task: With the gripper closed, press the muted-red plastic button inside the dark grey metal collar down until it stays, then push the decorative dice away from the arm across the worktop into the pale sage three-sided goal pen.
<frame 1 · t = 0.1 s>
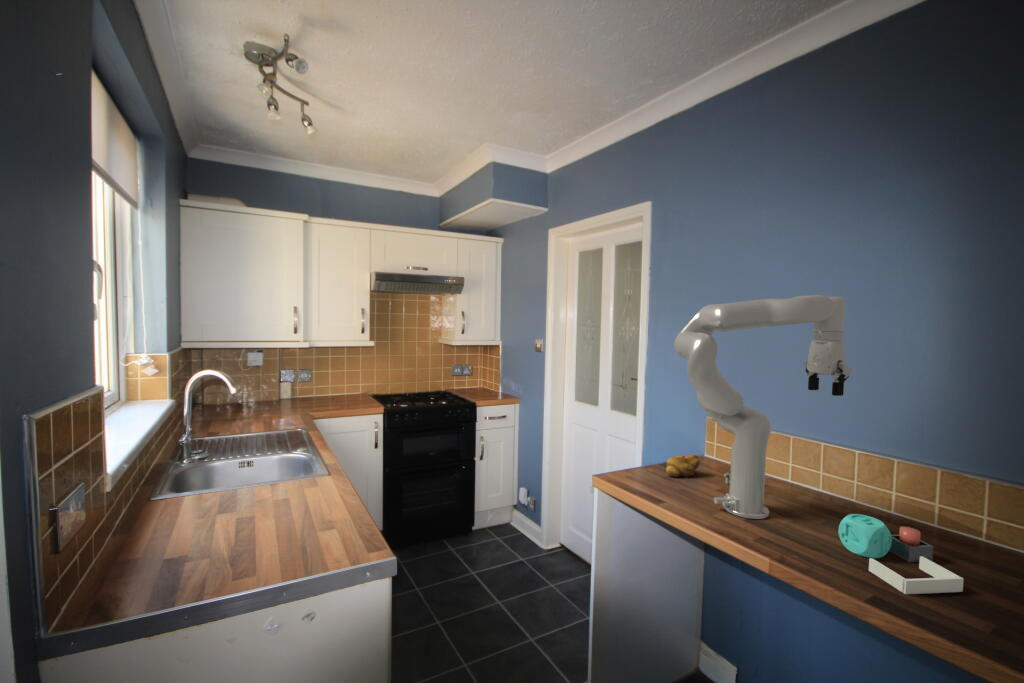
hand: (824, 392, 143), 37 cm above the counter, tool pointing down, fingers open, 9 cm apart
decorative dice: (863, 551, 120), on the counter
button: (909, 536, 117), point 5 cm above the counter, slide at 0.0 cm
bread roll: (679, 474, 175), on the counter
goal pen: (913, 580, 106), on the counter
egg carton: (741, 484, 166), on the counter
button collar: (908, 555, 117), on the counter
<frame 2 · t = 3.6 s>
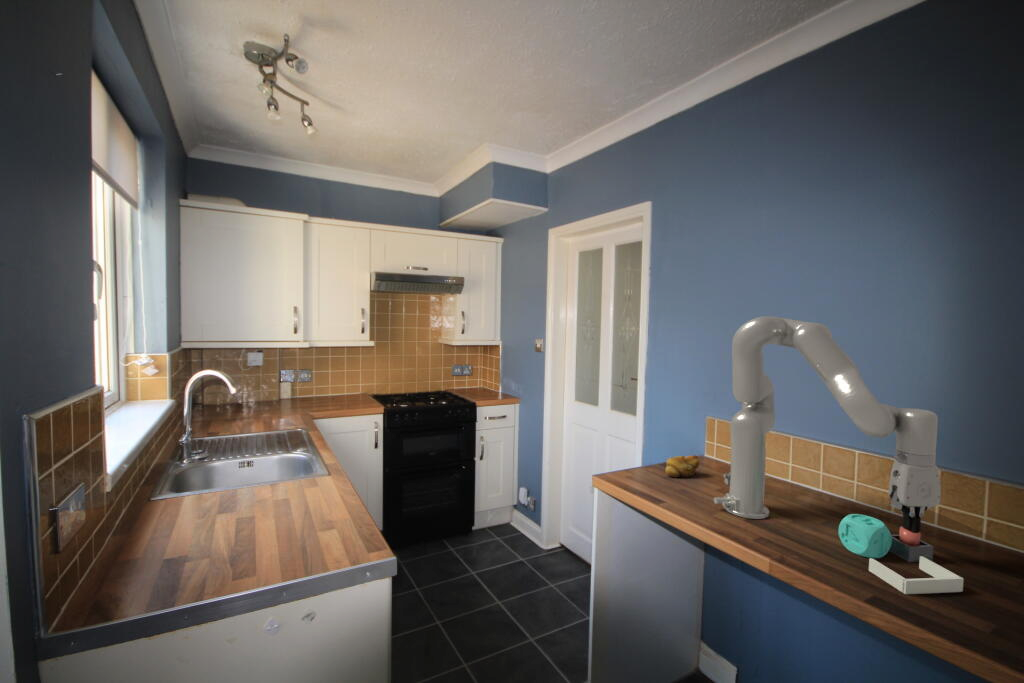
hand: (911, 530, 117), 7 cm above the counter, tool pointing down, fingers closed
button: (909, 536, 117), point 5 cm above the counter, slide at 0.0 cm, touching gripper
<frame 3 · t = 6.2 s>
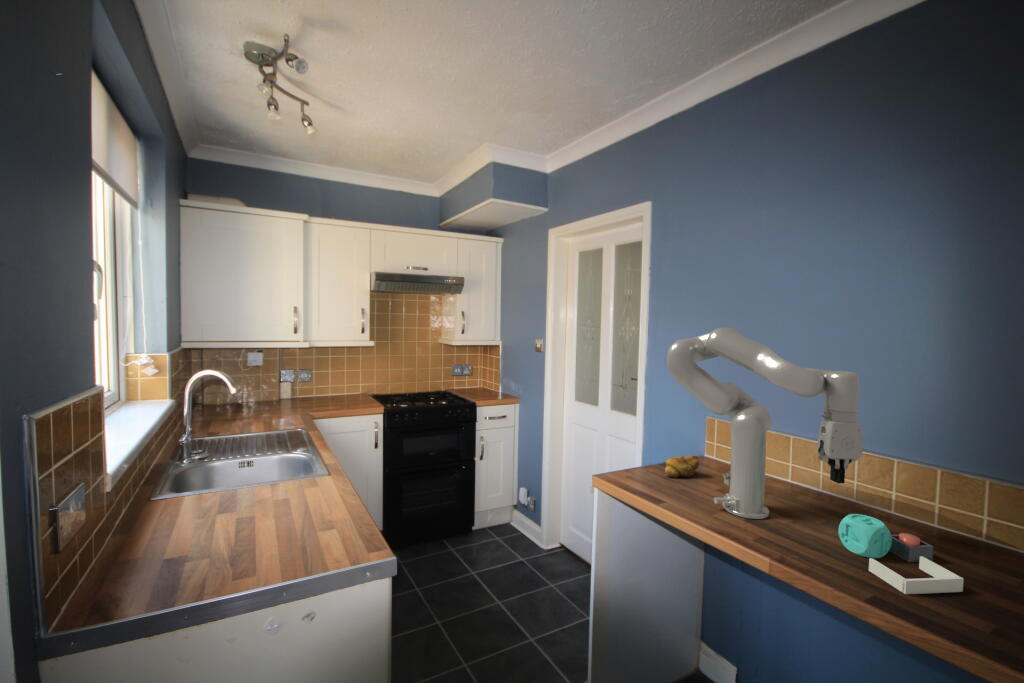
hand: (837, 481, 129), 14 cm above the counter, tool pointing down, fingers closed
button: (909, 543, 117), point 3 cm above the counter, slide at 1.7 cm
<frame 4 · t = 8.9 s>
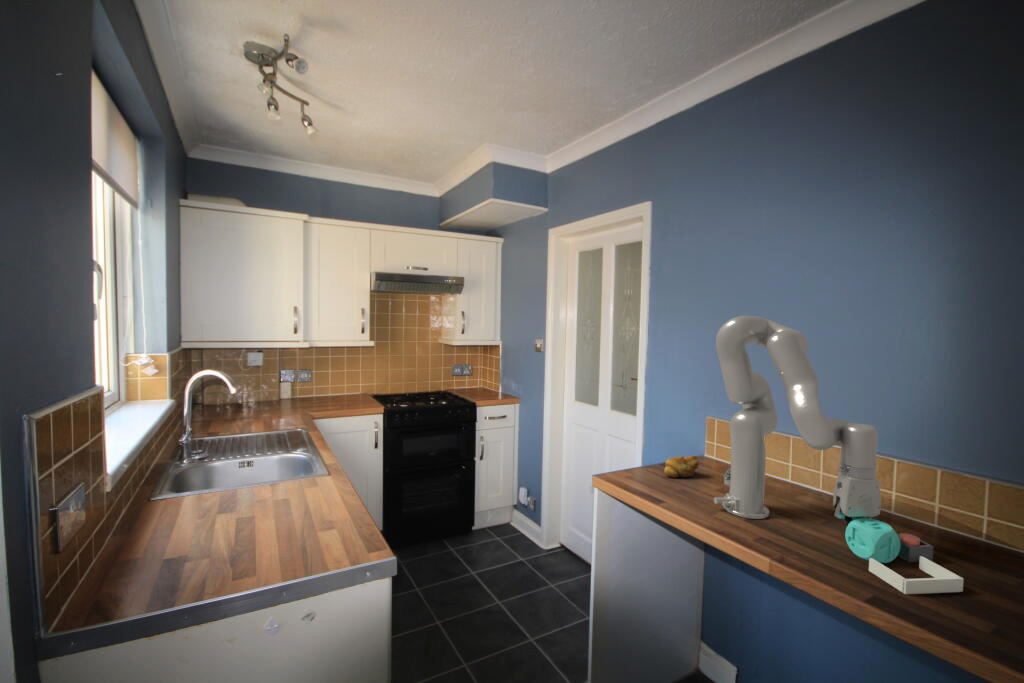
hand: (853, 538, 123), 1 cm above the counter, tool pointing down, fingers closed
decorative dice: (871, 555, 117), on the counter, touching gripper
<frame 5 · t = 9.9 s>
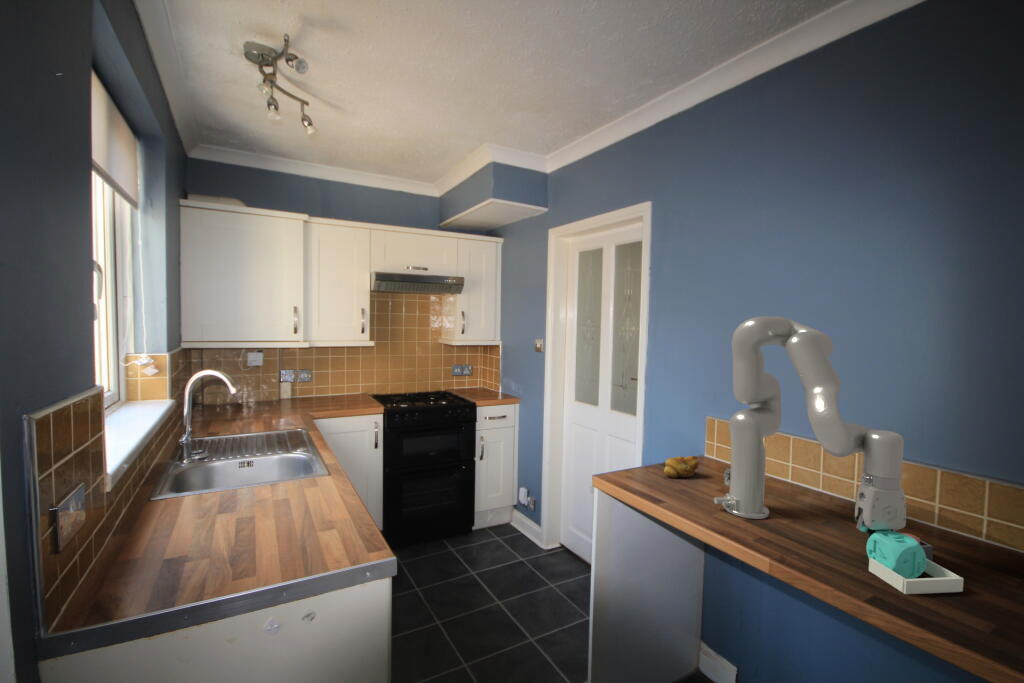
hand: (876, 552, 116), 1 cm above the counter, tool pointing down, fingers closed
decorative dice: (894, 571, 110), on the counter, touching gripper
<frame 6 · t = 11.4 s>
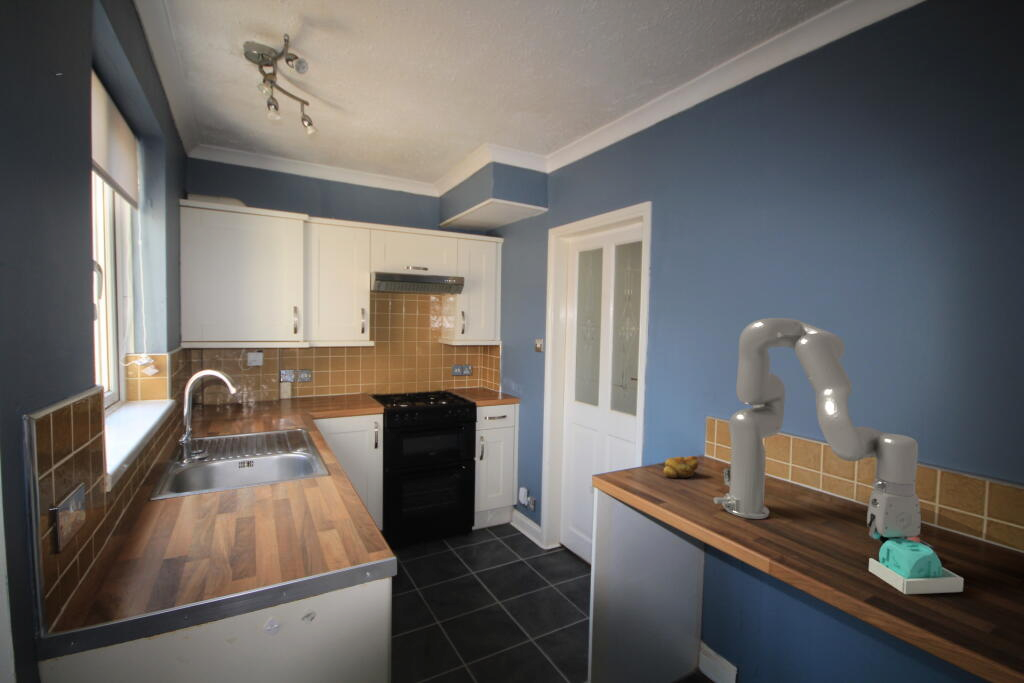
hand: (889, 560, 112), 1 cm above the counter, tool pointing down, fingers closed
decorative dice: (908, 580, 107), on the counter
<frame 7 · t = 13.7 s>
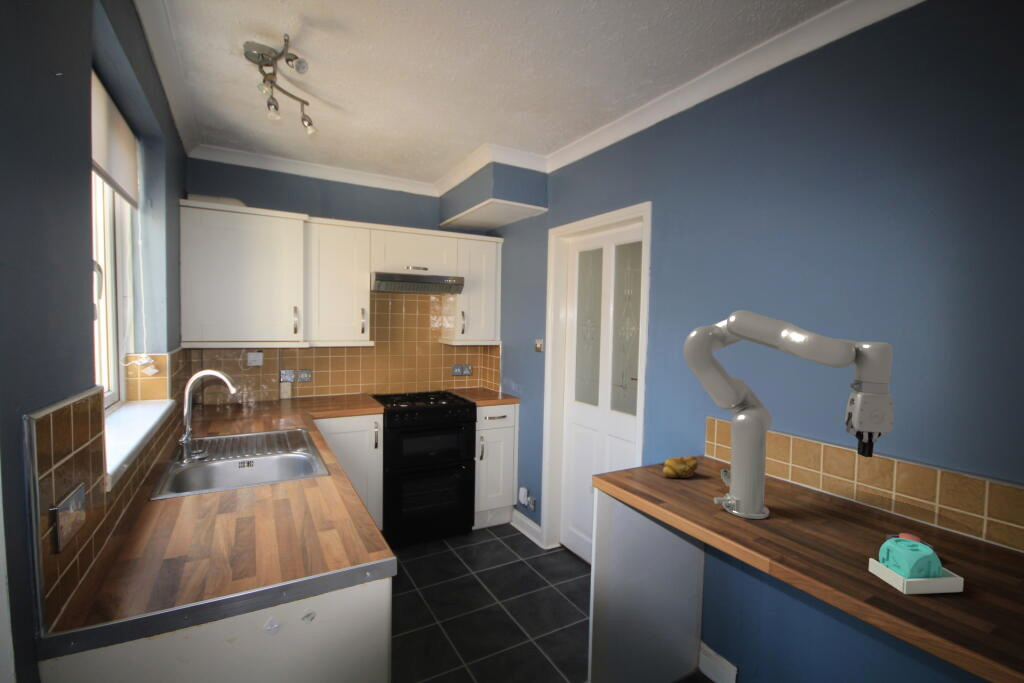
hand: (864, 455, 125), 23 cm above the counter, tool pointing down, fingers closed
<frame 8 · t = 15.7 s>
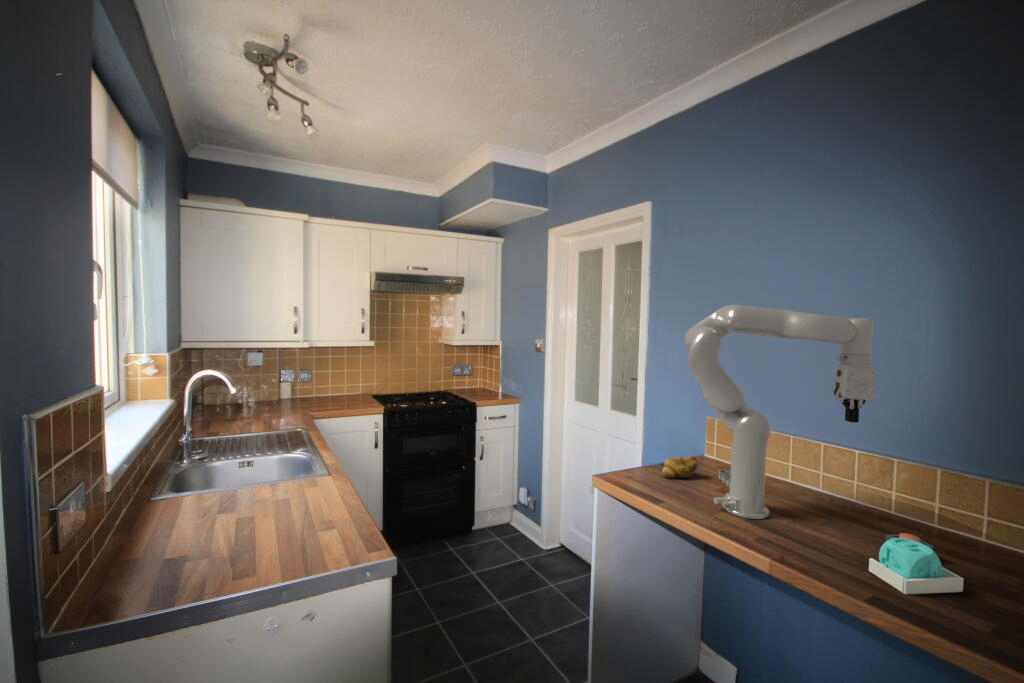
hand: (851, 421, 138), 29 cm above the counter, tool pointing down, fingers closed
at the end: button slide at 1.7 cm; decorative dice inside the target area (0.8 cm from its centre), on the counter; decorative dice moved 13.1 cm from its start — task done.
